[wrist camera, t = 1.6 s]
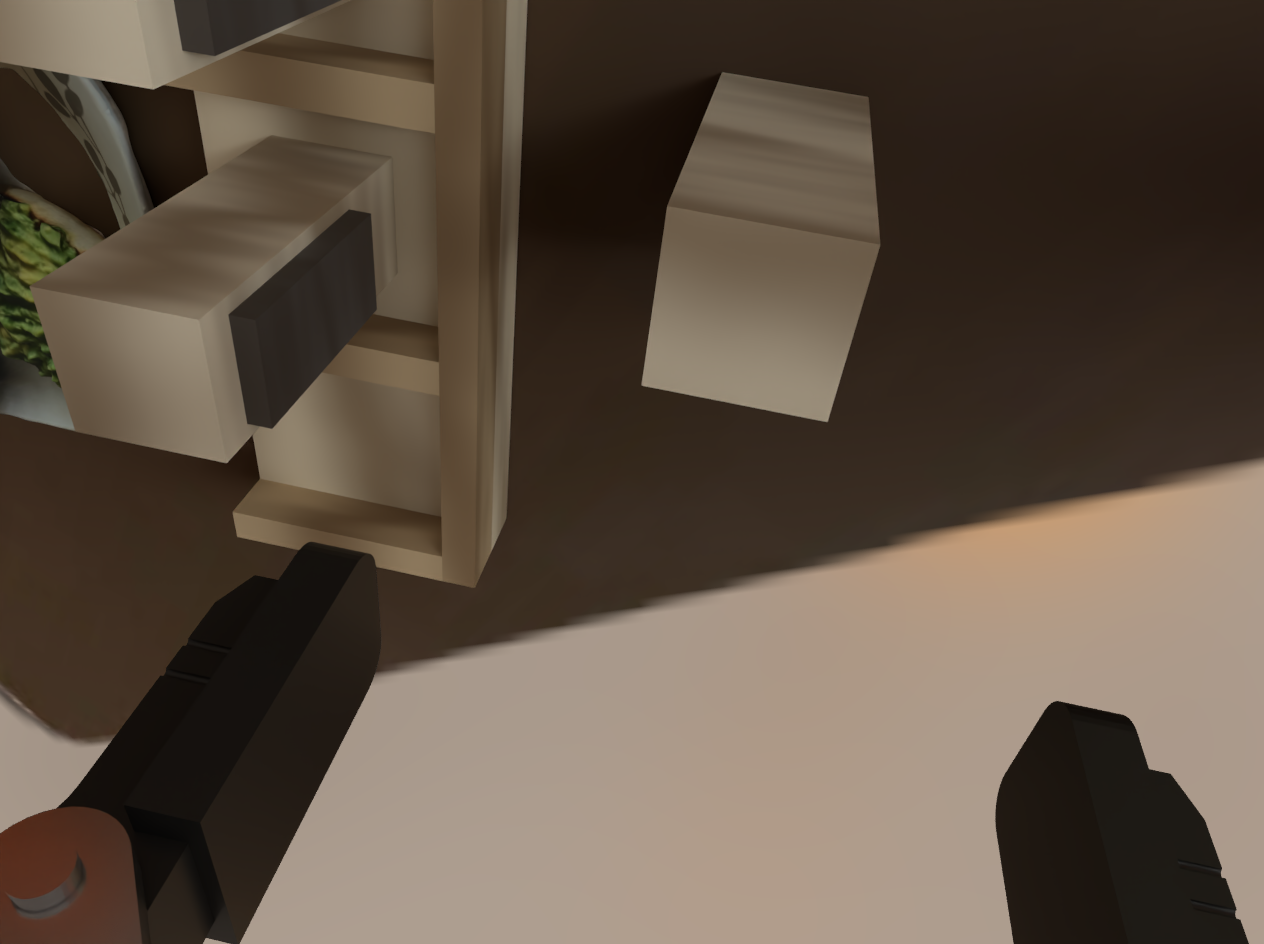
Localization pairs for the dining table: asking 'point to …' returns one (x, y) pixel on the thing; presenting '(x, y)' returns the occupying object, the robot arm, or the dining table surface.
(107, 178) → the salad plate
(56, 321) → the wooden block rack
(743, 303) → the beige cuboid
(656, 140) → the dining table surface
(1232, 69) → the dining table surface
